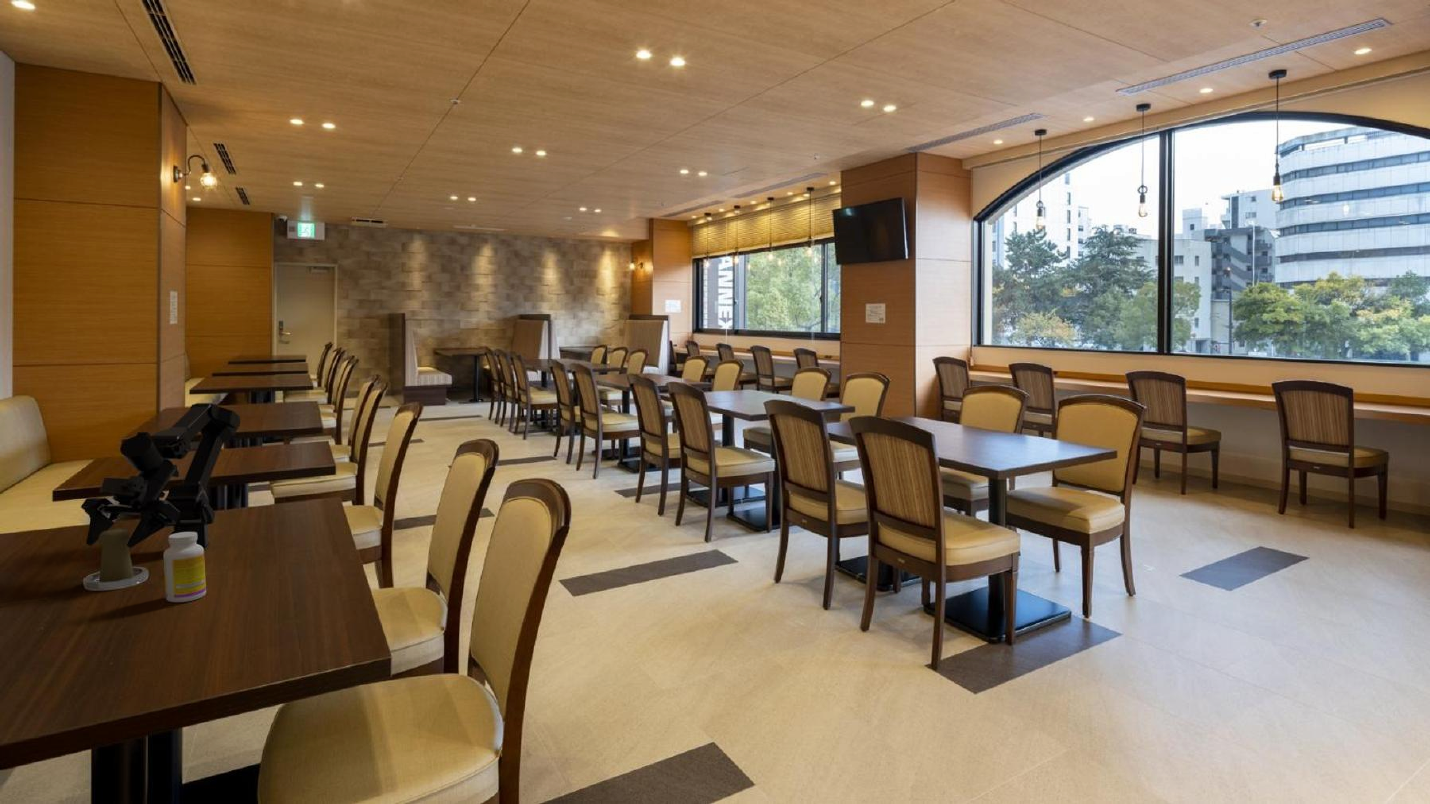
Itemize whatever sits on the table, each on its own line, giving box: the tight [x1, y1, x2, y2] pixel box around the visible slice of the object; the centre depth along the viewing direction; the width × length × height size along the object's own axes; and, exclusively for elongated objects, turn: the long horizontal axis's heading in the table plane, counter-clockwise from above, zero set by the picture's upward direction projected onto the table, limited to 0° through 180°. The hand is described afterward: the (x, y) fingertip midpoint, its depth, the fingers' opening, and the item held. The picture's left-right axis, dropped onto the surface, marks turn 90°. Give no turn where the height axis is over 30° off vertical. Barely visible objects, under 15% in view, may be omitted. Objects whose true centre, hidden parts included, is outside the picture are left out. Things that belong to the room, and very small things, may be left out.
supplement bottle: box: [162, 532, 207, 603], centre depth 151 cm, size 7×7×13 cm
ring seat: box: [82, 566, 149, 592], centre depth 160 cm, size 10×10×2 cm
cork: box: [98, 527, 135, 582], centre depth 160 cm, size 6×6×11 cm
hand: (108, 545), depth 158 cm, fingers open, 9 cm apart
